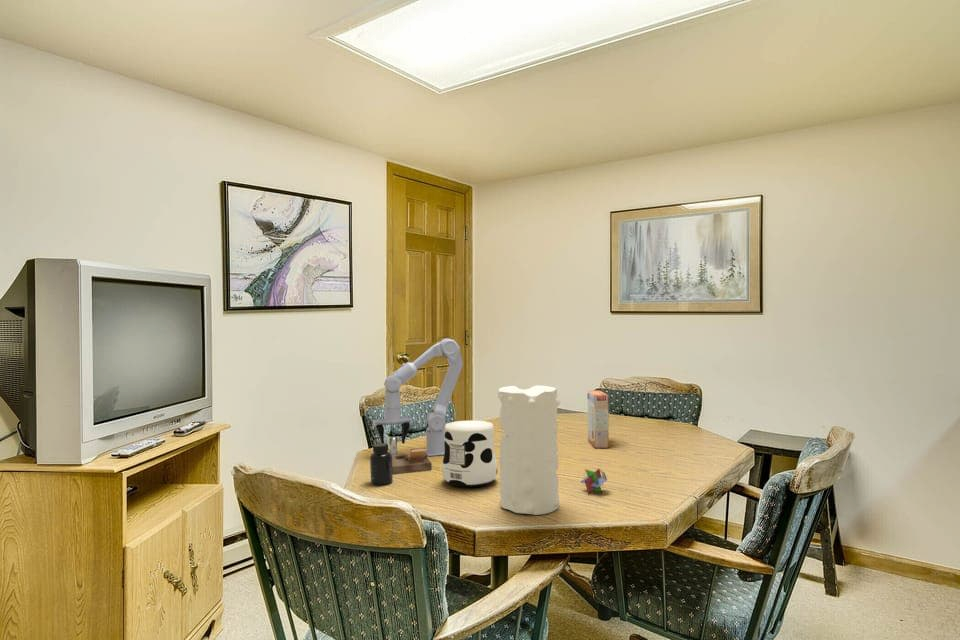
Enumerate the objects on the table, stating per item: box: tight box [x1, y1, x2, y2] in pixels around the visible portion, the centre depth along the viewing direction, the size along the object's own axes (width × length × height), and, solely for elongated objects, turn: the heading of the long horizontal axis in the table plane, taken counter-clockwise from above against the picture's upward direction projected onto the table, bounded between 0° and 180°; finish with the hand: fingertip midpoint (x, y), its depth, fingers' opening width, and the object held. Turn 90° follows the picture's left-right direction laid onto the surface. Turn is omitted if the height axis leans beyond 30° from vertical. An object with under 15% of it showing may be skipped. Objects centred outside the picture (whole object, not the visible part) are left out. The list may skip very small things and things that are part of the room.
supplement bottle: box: [369, 442, 394, 487], centre depth 169 cm, size 7×7×12 cm
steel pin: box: [388, 436, 398, 455], centre depth 202 cm, size 3×3×7 cm
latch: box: [409, 447, 427, 460], centre depth 185 cm, size 5×6×1 cm
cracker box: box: [586, 390, 610, 449], centre depth 216 cm, size 14×6×21 cm, turn 179°
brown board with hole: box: [392, 452, 433, 475], centre depth 188 cm, size 14×16×4 cm
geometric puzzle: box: [580, 468, 608, 494], centre depth 157 cm, size 7×7×8 cm
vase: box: [497, 384, 561, 516], centre depth 146 cm, size 17×16×32 cm
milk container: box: [441, 420, 498, 488], centre depth 168 cm, size 17×17×18 cm
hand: (393, 443), depth 202 cm, fingers open, 7 cm apart
